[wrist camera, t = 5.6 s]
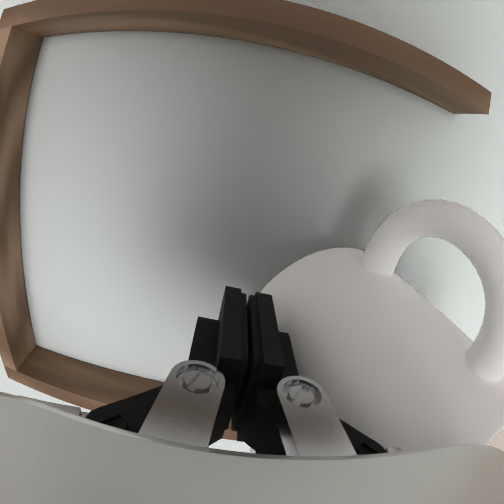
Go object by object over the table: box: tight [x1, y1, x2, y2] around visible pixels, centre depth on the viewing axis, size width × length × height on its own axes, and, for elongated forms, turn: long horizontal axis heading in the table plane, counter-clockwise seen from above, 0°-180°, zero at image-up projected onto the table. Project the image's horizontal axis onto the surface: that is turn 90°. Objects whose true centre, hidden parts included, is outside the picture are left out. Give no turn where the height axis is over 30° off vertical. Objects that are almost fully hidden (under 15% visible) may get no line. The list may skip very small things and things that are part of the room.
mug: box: [260, 200, 504, 451], centre depth 10 cm, size 12×8×10 cm
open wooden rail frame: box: [0, 0, 491, 440], centre depth 14 cm, size 22×24×3 cm
